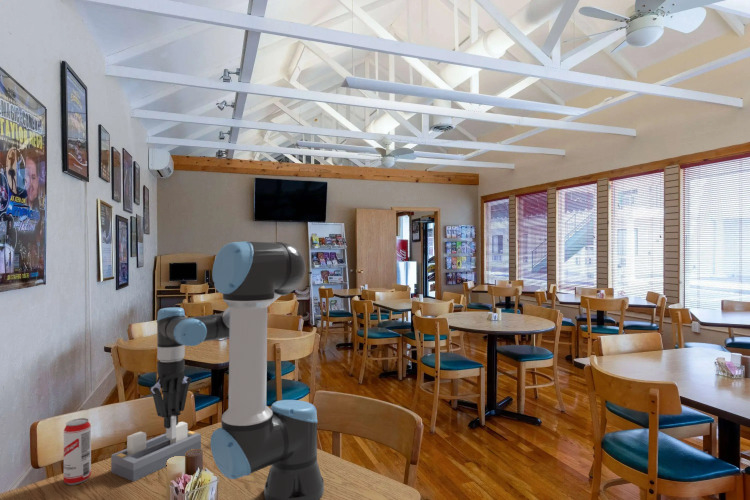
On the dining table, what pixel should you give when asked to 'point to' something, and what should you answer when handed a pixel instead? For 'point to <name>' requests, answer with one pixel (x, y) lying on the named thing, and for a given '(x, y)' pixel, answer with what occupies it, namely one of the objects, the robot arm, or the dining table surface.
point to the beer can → (77, 451)
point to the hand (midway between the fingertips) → (171, 437)
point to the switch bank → (152, 456)
